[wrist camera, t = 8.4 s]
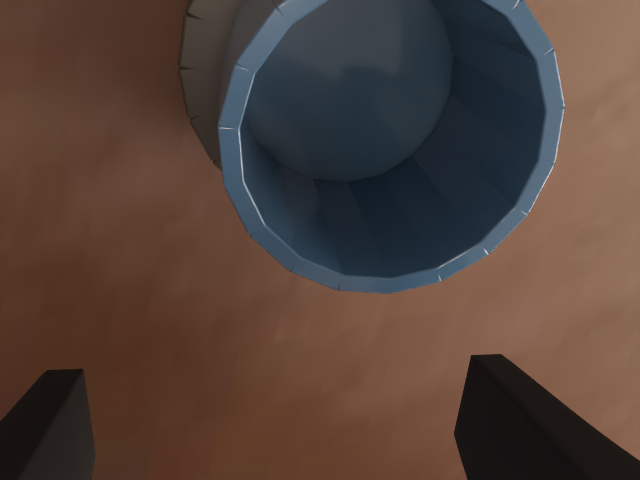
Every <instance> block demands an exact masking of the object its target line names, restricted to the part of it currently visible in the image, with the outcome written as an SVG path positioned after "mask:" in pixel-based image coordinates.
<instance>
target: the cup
mask: <svg viewBox="0 0 640 480" xmlns="http://www.w3.org/2000/svg"><path fill="white" fill-rule="evenodd" d="M553 48H554V47H553V44H552V43H551V41H550V40H549V38H548V37H547V35H546V33H545V32H544V30H543V29H542V27H541V26H540V24H539V22H538V21H537V19H536V18H535V16H534V15H533V13H532V11H531V10H530V8H529V7H528V5H527V4H526V2H525V0H244V2H243V3H242V5H241V6H240V8H239V10H238V12H237V14H236V16H235V17H234V20H233V22H232V26H231V29H230V32H229V35H228V38H227V42H226V48H225V52H224V56H223V60H222V67H221V83H220V98H219V113H218V138H219V148H220V158H221V167H222V177H223V184H224V188H225V190H226V192H227V194H228V196H229V198H230V200H231V202H232V203H233V205H234V207H235V209H236V211H237V213H238V215H239V217H240V219H241V221H242V223H243V225H244V227H245V229H246V231H247V233H248V234H249V235H250V237H251V238H252V239H254V240H255V241H256V242H257V243H258V244H259V245H260V246H261V247H262V248H264V249H265V250H266V251H267V252H268V253H269V254H270V255H271V256H272V257H274V258H275V259H276V260H277V261H278V262H279V263H280V264H281V265H283V266H284V267H285V268H286V269H287V270H289V271H290V272H292V273H295V274H297V275H300V276H302V277H305V278H307V279H310V280H312V281H315V282H317V283H320V284H322V285H325V286H327V287H329V288H332V289H334V290H339V291H351V292H367V293H383V294H389V293H396V292H400V291H404V290H408V289H412V288H417V287H421V286H425V285H429V284H433V283H437V282H440V281H441V280H442V281H443V280H445V279H447V278H449V277H450V276H452V275H454V274H456V273H457V272H459V271H461V270H463V269H464V268H466V267H468V266H470V265H471V264H473V263H475V262H477V261H478V260H480V259H482V258H484V257H486V256H487V255H488V253H491V252H492V251H493V250H494V249H495V248H496V247H497V246H498V245H499V244H500V243H501V242H502V241H503V240H504V239H505V238H506V237H507V236H508V235H509V234H510V233H511V232H512V231H513V230H514V229H515V228H516V227H517V226H518V224H519V223H520V222H521V221H522V220H523V219H524V218H525V217H526V216H527V215H528V214H527V213H529V212H530V211H531V209H532V207H533V205H534V203H535V201H536V199H537V197H538V195H539V193H540V192H541V190H542V188H543V186H544V184H545V182H546V180H547V178H548V176H549V174H550V173H551V171H552V169H553V167H554V163H555V162H556V156H557V150H558V145H559V139H560V133H561V127H562V122H563V116H564V110H565V108H564V106H565V103H564V97H563V92H562V86H561V80H560V75H559V69H558V64H557V58H556V53H555V50H554V49H553Z"/></svg>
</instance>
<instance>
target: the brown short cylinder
mask: <svg viewBox="0 0 640 480" xmlns="http://www.w3.org/2000/svg"><path fill="white" fill-rule="evenodd" d="M243 2H244V0H190V2H189V4H188V6H187V8H186V13H185V15H184V20H183V28H182V36H181V45H180V53H179V62H178V65H179V76H180V81H181V86H182V91H183V96H184V102H185V107H186V112H187V116H188V117H189V118H190V123H191V125H192V127H193V129H194V130H195V132H196V134H197V136H198V138H199V139H200V141H201V143H202V145H203V147H204V148H205V150H206V152H207V154H208V156H209V157H210V159H211V160H213V163H214V165H216V166H217V167H218V168H219V169H220V170H221V171H222V167H221V158H220V148H219V138H218V113H219V98H220V83H221V67H222V60H223V56H224V52H225V48H226V42H227V38H228V35H229V32H230V29H231V26H232V22H233V20H234V17H235V16H236V14H237V12H238V10H239V8H240V6H241V5H242V3H243Z"/></svg>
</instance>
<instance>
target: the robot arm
mask: <svg viewBox="0 0 640 480" xmlns="http://www.w3.org/2000/svg"><path fill="white" fill-rule="evenodd" d="M454 436H455V439H456V443H457V446H458V450H459V453H460V457H461V460H462V464H463V467H464V470H465V473H466V476H467V479H468V480H640V461H639V460H638V459H636V458H635V457H633V456H632V455H631V454H629V453H628V452H626V451H625V450H624V449H622V448H621V447H619V446H618V445H617V444H615V443H614V442H612V441H611V440H610V439H608V438H607V437H606V436H604V435H603V434H602V433H600V432H599V431H598V430H596V429H595V428H594V427H593V426H591V425H590V424H589V423H587V422H586V421H585V420H583V419H582V418H581V417H580V416H578V415H577V414H576V413H575V412H573V411H572V410H571V409H569V408H568V407H567V406H566V405H564V404H563V403H562V402H561V401H559V400H558V399H557V398H556V397H554V396H553V395H552V394H551V393H550V392H548V391H547V390H546V389H545V388H543V387H542V386H541V385H540V384H538V383H537V382H536V381H535V380H534V379H532V378H531V377H530V376H529V375H527V374H526V373H525V372H524V371H522V370H521V369H520V368H519V367H517V366H516V365H515V364H513V363H512V362H511V361H510V360H508V359H507V358H506V357H504V356H503V355H501V354H491V355H471V359H470V363H469V368H468V372H467V377H466V381H465V386H464V390H463V395H462V399H461V404H460V408H459V413H458V417H457V422H456V426H455V431H454ZM95 454H96V453H95V446H94V439H93V432H92V426H91V419H90V412H89V405H88V398H87V392H86V385H85V378H84V371H83V369H68V370H47V371H46V372H45V373H43V374H42V375H41V376H40V377H39V379H38V380H37V381H36V382H35V383H34V384H33V385H32V386H31V387H30V389H29V390H28V391H27V392H26V393H25V394H24V395H23V397H22V398H21V399H20V400H19V401H18V402H17V403H16V404H15V406H14V407H13V408H12V409H11V410H10V411H9V412H8V413H7V414H6V416H5V417H4V418H3V419H2V420H1V421H0V480H91V479H92V473H93V467H94V461H95Z"/></svg>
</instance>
